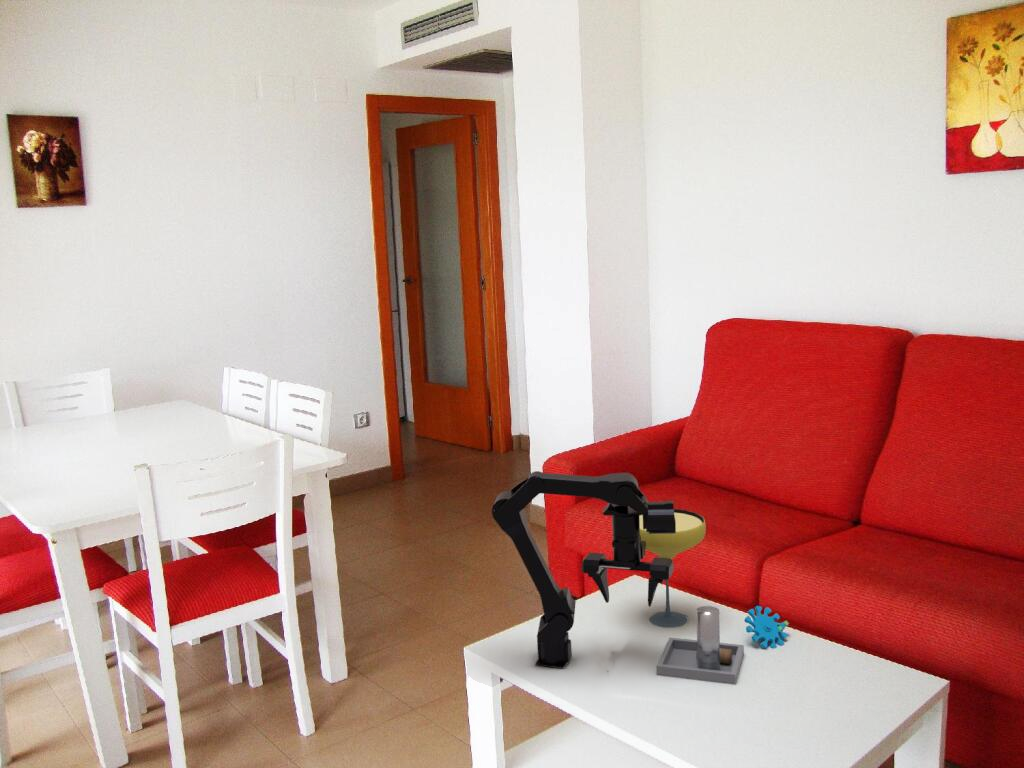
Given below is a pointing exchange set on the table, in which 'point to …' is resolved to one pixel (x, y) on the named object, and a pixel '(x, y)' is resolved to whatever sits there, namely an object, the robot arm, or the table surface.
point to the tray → (684, 664)
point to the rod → (725, 656)
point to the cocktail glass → (668, 546)
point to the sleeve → (708, 638)
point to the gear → (765, 627)
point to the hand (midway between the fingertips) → (628, 603)
